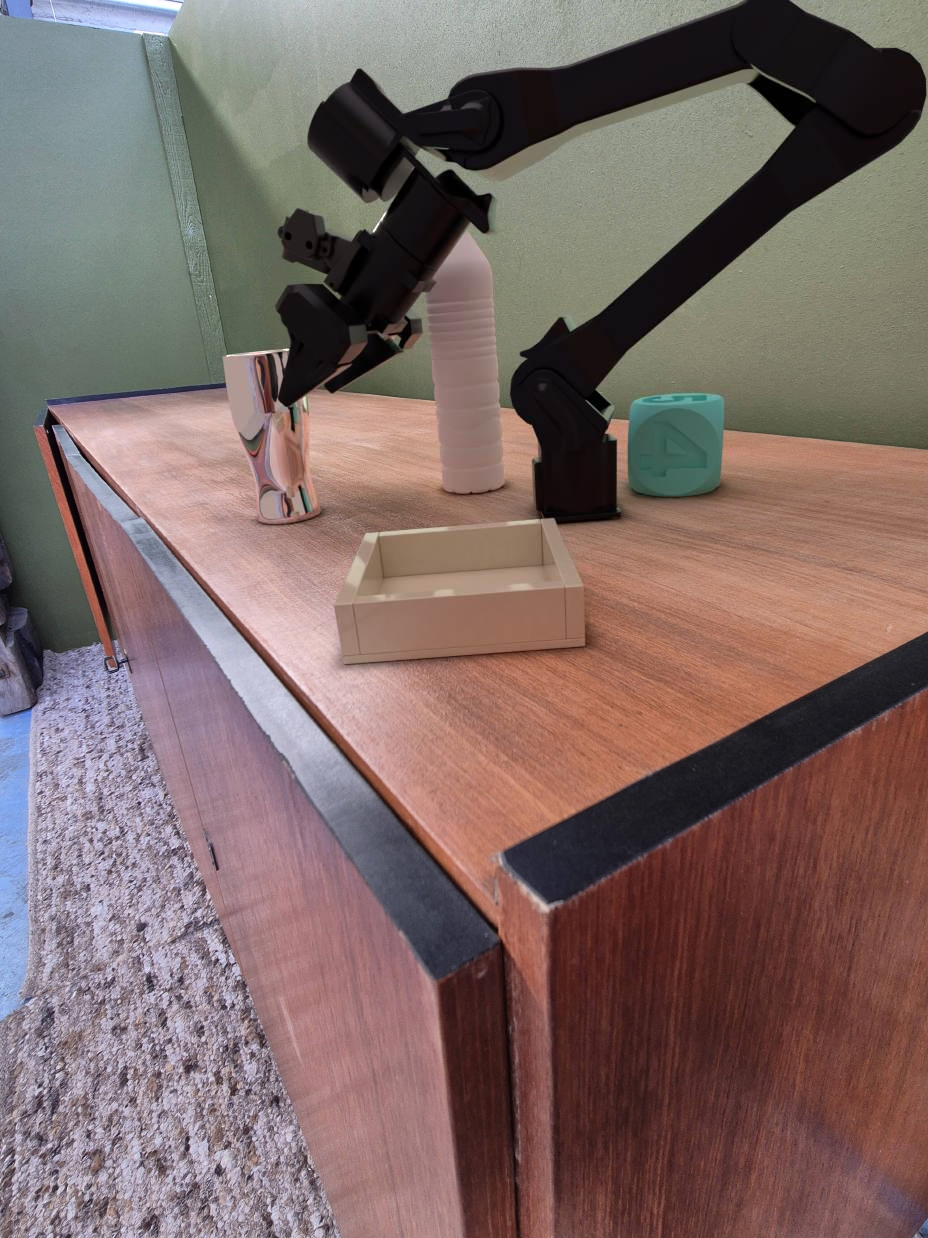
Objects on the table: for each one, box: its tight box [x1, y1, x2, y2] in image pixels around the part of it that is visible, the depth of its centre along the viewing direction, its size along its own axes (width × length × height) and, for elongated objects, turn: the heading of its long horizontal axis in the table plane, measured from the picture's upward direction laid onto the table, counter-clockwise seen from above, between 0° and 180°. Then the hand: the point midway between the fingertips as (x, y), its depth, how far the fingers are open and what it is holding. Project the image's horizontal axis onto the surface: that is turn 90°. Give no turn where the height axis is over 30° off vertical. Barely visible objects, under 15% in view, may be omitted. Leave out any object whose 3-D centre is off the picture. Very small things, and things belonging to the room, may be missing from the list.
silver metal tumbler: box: [221, 348, 322, 525], centre depth 66 cm, size 7×7×15 cm
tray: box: [333, 518, 586, 665], centre depth 43 cm, size 13×13×4 cm
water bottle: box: [424, 228, 506, 495], centre depth 69 cm, size 9×6×25 cm
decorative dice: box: [627, 392, 725, 498], centre depth 66 cm, size 8×8×8 cm
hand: (306, 396), depth 64 cm, fingers open, 9 cm apart
